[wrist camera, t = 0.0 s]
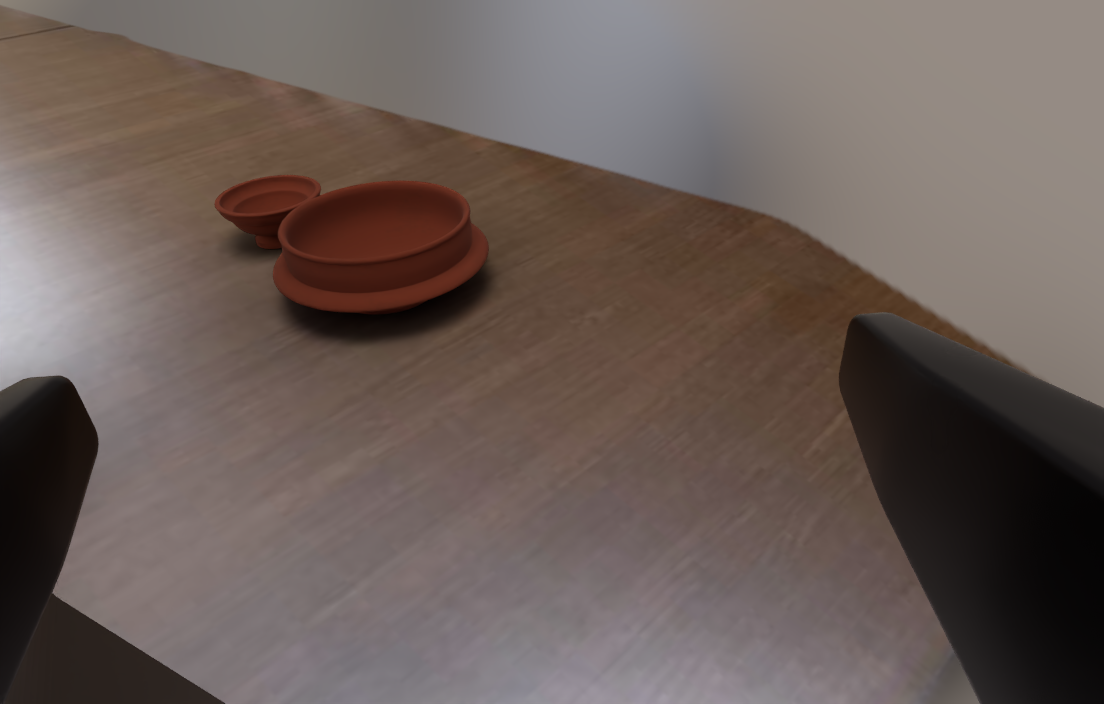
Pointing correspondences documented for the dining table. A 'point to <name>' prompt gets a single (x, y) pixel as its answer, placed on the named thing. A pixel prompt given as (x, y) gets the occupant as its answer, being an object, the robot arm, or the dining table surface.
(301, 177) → the pottery
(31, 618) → the robot arm
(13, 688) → the phone stand
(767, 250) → the dining table surface
